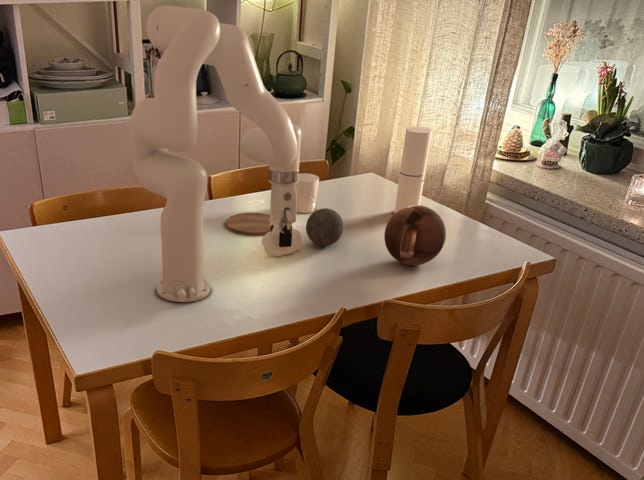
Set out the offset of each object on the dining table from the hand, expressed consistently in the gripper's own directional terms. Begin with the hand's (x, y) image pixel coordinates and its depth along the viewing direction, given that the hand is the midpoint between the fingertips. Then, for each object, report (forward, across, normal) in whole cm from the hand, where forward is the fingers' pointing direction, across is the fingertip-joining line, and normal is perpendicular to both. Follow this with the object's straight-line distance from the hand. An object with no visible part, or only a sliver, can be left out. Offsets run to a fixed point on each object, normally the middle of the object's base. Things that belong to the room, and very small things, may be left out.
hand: (280, 239), depth 184 cm
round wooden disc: (+4, +20, +3) cm, 20 cm away
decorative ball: (+4, +3, -13) cm, 14 cm away
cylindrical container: (+4, +23, -45) cm, 50 cm away
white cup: (+4, +31, -15) cm, 34 cm away
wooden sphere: (+4, -12, -32) cm, 34 cm away
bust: (+4, 0, 0) cm, 4 cm away
